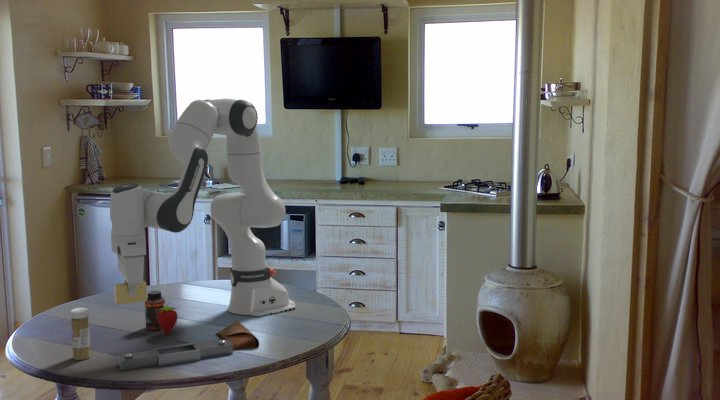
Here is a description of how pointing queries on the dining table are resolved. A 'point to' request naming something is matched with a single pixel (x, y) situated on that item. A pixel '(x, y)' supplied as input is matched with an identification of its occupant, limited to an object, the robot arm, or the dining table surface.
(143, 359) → the grey slotted link bar
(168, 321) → the strawberry
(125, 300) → the khaki rectangular block
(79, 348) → the sprinkles bottle
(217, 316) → the dining table surface
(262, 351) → the dining table surface
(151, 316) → the supplement bottle
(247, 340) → the sunglasses case
